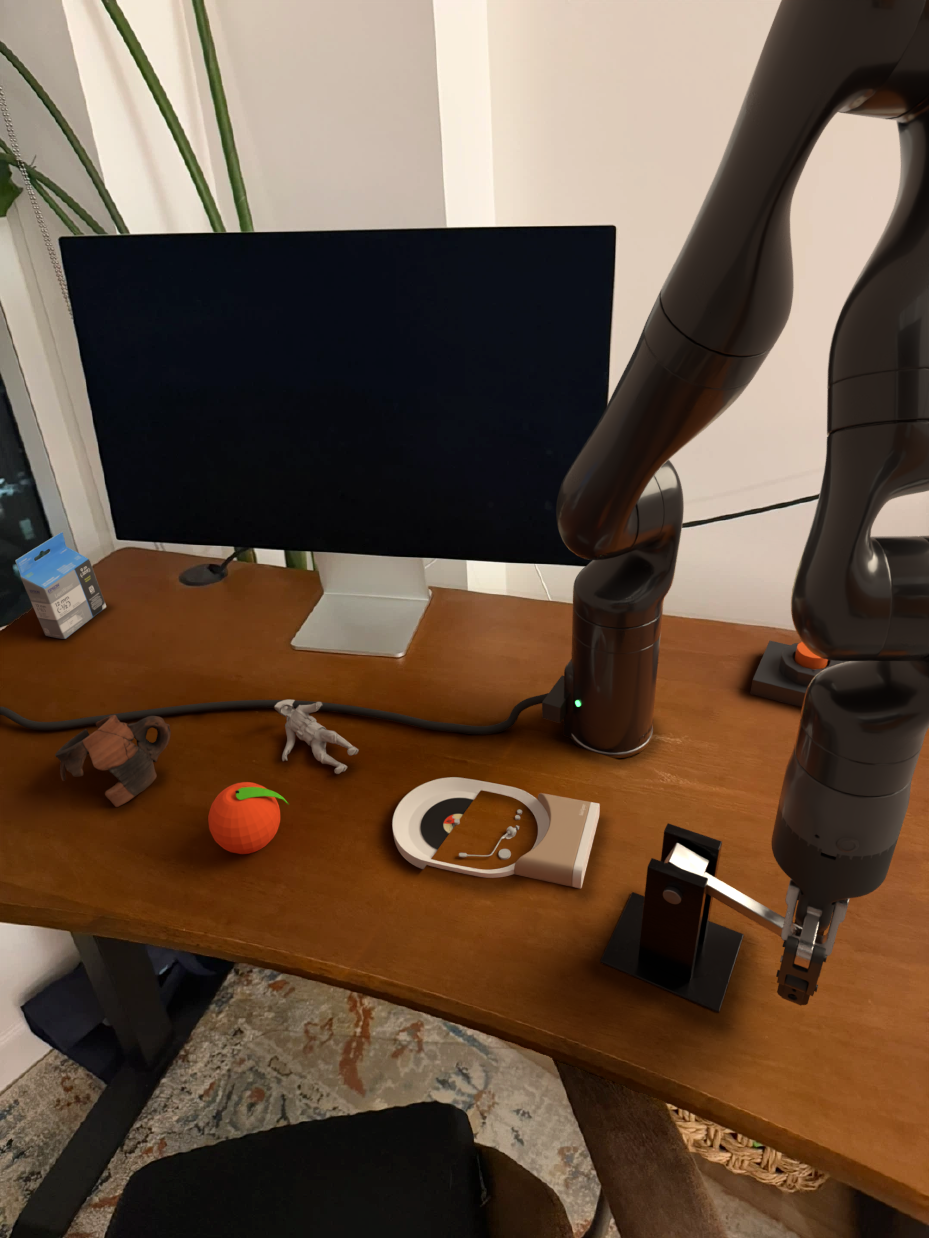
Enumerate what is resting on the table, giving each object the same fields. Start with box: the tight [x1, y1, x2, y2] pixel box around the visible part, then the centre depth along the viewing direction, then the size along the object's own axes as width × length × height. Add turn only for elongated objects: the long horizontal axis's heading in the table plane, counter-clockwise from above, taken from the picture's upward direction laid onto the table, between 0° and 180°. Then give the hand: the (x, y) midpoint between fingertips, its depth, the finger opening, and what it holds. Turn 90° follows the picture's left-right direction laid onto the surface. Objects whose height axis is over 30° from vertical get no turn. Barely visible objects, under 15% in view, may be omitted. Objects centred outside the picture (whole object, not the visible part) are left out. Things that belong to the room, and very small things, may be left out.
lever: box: [665, 843, 803, 938], centre depth 65 cm, size 12×5×2 cm, turn 61°
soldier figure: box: [273, 698, 360, 775], centre depth 96 cm, size 8×5×12 cm
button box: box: [750, 640, 849, 708], centre depth 101 cm, size 11×9×4 cm
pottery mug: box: [54, 715, 172, 808], centre depth 94 cm, size 12×10×8 cm
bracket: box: [599, 823, 745, 1014], centre depth 69 cm, size 10×8×13 cm
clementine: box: [207, 781, 290, 855], centre depth 84 cm, size 8×7×7 cm
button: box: [795, 641, 828, 669], centre depth 100 cm, size 4×4×2 cm
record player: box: [391, 776, 601, 890], centre depth 84 cm, size 12×3×20 cm
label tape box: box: [15, 531, 107, 640], centre depth 119 cm, size 9×4×12 cm, turn 159°
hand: (799, 966), depth 65 cm, fingers closed on lever, 5 cm apart
